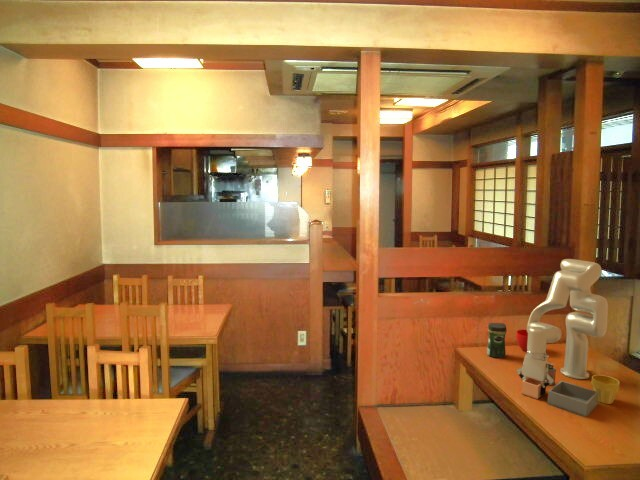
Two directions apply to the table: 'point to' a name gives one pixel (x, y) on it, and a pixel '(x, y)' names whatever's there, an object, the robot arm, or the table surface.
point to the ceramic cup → (522, 339)
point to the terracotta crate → (531, 388)
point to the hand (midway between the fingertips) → (533, 391)
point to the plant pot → (605, 388)
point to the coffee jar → (496, 340)
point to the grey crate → (573, 398)
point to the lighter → (551, 373)
